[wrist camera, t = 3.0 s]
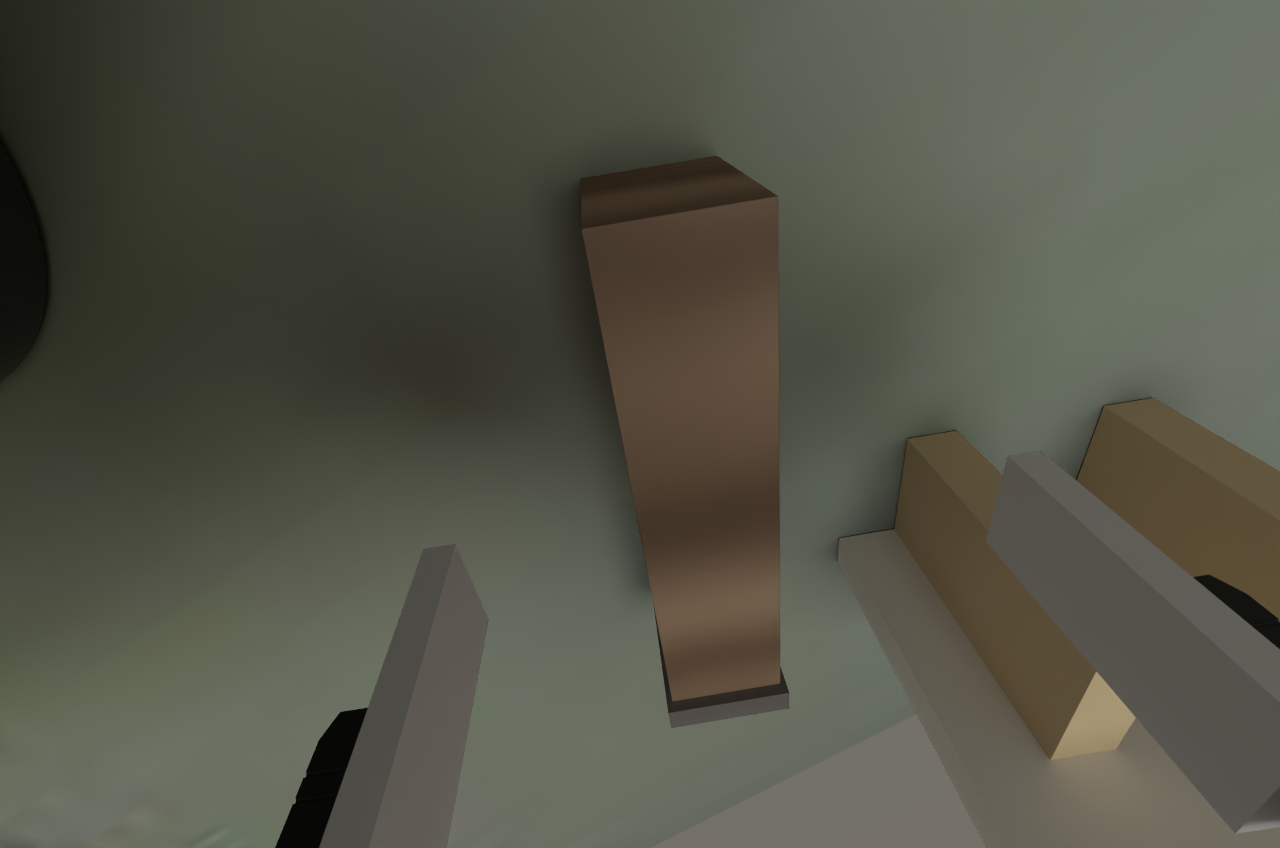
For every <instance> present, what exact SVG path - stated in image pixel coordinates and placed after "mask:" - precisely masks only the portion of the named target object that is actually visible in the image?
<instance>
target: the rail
mask: <svg viewBox="0 0 1280 848" xmlns="http://www.w3.org/2000/svg"><path fill="white" fill-rule="evenodd" d="M581 215H582V234H583V239H584V244H585V249H586V254H587V260H588V265H589V270H590V275H591V281H592V286H593V291H594V296H595V301H596V307H597V312H598V317H599V322H600V327H601V333H602V338H603V343H604V348H605V353H606V359H607V364H608V369H609V374H610V379H611V385H612V390H613V395H614V400H615V405H616V411H617V416H618V421H619V426H620V431H621V437H622V442H623V447H624V452H625V457H626V463H627V468H628V473H629V478H630V483H631V489H632V494H633V499H634V504H635V509H636V515H637V520H638V525H639V530H640V535H641V541H642V546H643V551H644V556H645V561H646V567H647V572H648V577H649V582H650V588H651V593H652V598H653V603H654V611H655V618H656V625H657V633H658V640H659V647H660V655H661V662H662V669H663V677H664V684H665V691H666V699H667V706H668V713H669V718H670V723H671V728H674V727H680V726H686V725H692V724H698V723H704V722H710V721H716V720H722V719H728V718H734V717H740V716H746V715H752V714H758V713H764V712H770V711H776V710H782V709H788V708H789V691H788V688H787V685H786V682H785V679H784V676H783V673H782V670H781V667H780V518H779V313H778V196H777V195H775V194H774V193H772V192H771V191H769V190H768V189H766V188H765V187H763V186H762V185H760V184H759V183H757V182H756V181H754V180H753V179H751V178H750V177H748V176H747V175H745V174H743V173H742V172H740V171H739V170H737V169H736V168H734V167H733V166H731V165H730V164H728V163H727V162H725V161H724V160H722V159H721V158H719V157H718V156H713V157H707V158H701V159H695V160H689V161H684V162H678V163H672V164H666V165H660V166H654V167H648V168H642V169H636V170H630V171H624V172H618V173H612V174H606V175H600V176H594V177H588V178H582V179H581Z"/></svg>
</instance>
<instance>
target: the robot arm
mask: <svg viewBox="0 0 1280 848" xmlns="http://www.w3.org/2000/svg"><path fill="white" fill-rule="evenodd" d="M45 299H46V272H45V260H44V255H43V249H42V244H41V239H40V236H39V232H38V228H37V224H36V221H35V218H34V215H33V212H32V209H31V207H30V204H29V201H28V198H27V196H26V194H25V191H24V189H23V187H22V184H21V182H20V180H19V177H18V175H17V174H16V172H15V170H14V168H13V166H12V164H11V162H10V160H9V158H8V156H7V154H6V152H5V150H4V149H3V147H2V145H1V143H0V382H1V381H2V380H3V379H4V378H5V377H7V376H8V375H9V374H10V373H11V372H12V371H13V370H14V369H15V368H16V367H17V366H18V365H19V364H20V363H21V361H22V360H23V359H24V357H25V356H26V355H27V353H28V352H29V350H30V348H31V346H32V344H33V343H34V341H35V339H36V336H37V333H38V331H39V328H40V326H41V321H42V317H43V313H44V307H45ZM986 542H987V543H988V545H989V546H990V547H991V548H992V549H993V550H994V552H995V553H996V554H997V555H998V556H999V557H1000V559H1001V560H1002V561H1003V562H1004V563H1005V565H1006V566H1007V567H1008V568H1009V569H1010V570H1011V572H1012V573H1013V574H1014V575H1015V576H1016V577H1017V579H1018V580H1019V581H1020V582H1021V583H1022V584H1023V586H1024V587H1025V588H1026V589H1027V590H1028V592H1029V593H1030V594H1031V595H1032V596H1033V597H1034V599H1035V600H1036V601H1037V602H1038V603H1039V604H1040V606H1041V607H1042V608H1043V609H1044V610H1045V611H1046V613H1047V614H1048V615H1049V616H1050V617H1051V619H1052V620H1053V621H1054V622H1055V623H1056V624H1057V626H1058V627H1059V628H1060V629H1061V630H1062V631H1063V633H1064V634H1065V635H1066V636H1067V637H1068V638H1069V640H1070V641H1071V642H1072V643H1073V644H1074V646H1075V647H1076V648H1077V649H1078V650H1079V651H1080V653H1081V654H1082V655H1083V656H1084V657H1085V658H1086V660H1087V661H1088V662H1089V663H1090V664H1091V665H1092V667H1093V668H1094V669H1095V670H1096V671H1097V673H1098V674H1099V675H1100V676H1101V677H1102V678H1103V680H1104V681H1105V682H1106V683H1107V684H1108V685H1109V687H1110V688H1111V689H1112V690H1113V691H1114V692H1115V694H1116V695H1117V696H1118V697H1119V698H1120V700H1121V701H1122V702H1123V703H1124V704H1125V705H1126V707H1127V708H1128V709H1129V710H1130V711H1131V712H1132V714H1133V715H1134V716H1135V717H1136V718H1137V719H1138V721H1139V722H1140V723H1141V724H1142V725H1143V727H1144V728H1145V729H1146V730H1147V731H1148V732H1149V734H1150V735H1151V736H1152V737H1153V738H1154V739H1155V741H1156V742H1157V743H1158V744H1159V745H1160V746H1161V748H1162V749H1163V750H1164V751H1165V752H1166V754H1167V755H1168V756H1169V757H1170V758H1171V759H1172V761H1173V762H1174V763H1175V764H1176V765H1177V766H1178V768H1179V769H1180V770H1181V771H1182V772H1183V773H1184V775H1185V776H1186V777H1187V778H1188V779H1189V781H1190V782H1191V783H1192V784H1193V785H1194V786H1195V788H1196V789H1197V790H1198V791H1199V792H1200V793H1201V795H1202V796H1203V797H1204V798H1205V799H1206V800H1207V802H1208V803H1209V804H1210V805H1211V806H1212V808H1213V809H1214V810H1215V811H1216V812H1217V813H1218V815H1219V816H1220V817H1221V818H1222V819H1223V820H1224V822H1225V823H1226V824H1227V825H1228V826H1229V827H1230V829H1231V830H1232V831H1233V832H1234V833H1235V834H1237V833H1244V832H1250V831H1257V830H1263V829H1270V828H1277V827H1280V622H1279V619H1278V618H1277V617H1276V616H1275V615H1273V614H1272V613H1271V612H1269V611H1268V610H1267V609H1266V608H1264V607H1263V606H1262V605H1261V604H1259V603H1258V602H1257V601H1256V600H1254V599H1253V598H1252V597H1250V596H1249V595H1248V594H1246V593H1244V592H1242V591H1240V590H1239V589H1237V588H1235V587H1233V586H1231V585H1229V584H1227V583H1225V582H1223V581H1221V580H1219V579H1217V578H1215V577H1213V576H1211V575H1210V574H1209V575H1203V576H1196V577H1192V576H1191V575H1189V574H1188V573H1187V572H1186V571H1185V570H1183V569H1182V568H1181V567H1180V566H1179V565H1177V564H1176V563H1175V562H1174V561H1173V560H1171V559H1170V558H1169V557H1168V556H1167V555H1165V554H1164V553H1163V552H1162V551H1161V550H1159V549H1158V548H1157V547H1156V546H1155V545H1153V544H1152V543H1151V542H1150V541H1149V540H1147V539H1146V538H1145V537H1144V536H1143V535H1141V534H1140V533H1139V532H1138V531H1137V530H1135V529H1134V528H1133V527H1132V526H1130V525H1129V524H1128V523H1127V522H1126V521H1124V520H1123V519H1122V518H1121V517H1120V516H1118V515H1117V514H1116V513H1115V512H1114V511H1112V510H1111V509H1110V508H1109V507H1108V506H1106V505H1105V504H1104V503H1103V502H1102V501H1100V500H1099V499H1098V498H1097V497H1096V496H1094V495H1093V494H1092V493H1091V492H1090V491H1088V490H1087V489H1086V488H1085V487H1084V486H1082V485H1081V484H1080V483H1079V482H1078V481H1076V480H1075V479H1074V478H1073V477H1072V476H1070V475H1069V474H1068V473H1067V472H1065V471H1064V470H1063V469H1062V468H1061V467H1059V466H1058V465H1057V464H1056V463H1055V462H1053V461H1052V460H1051V459H1050V458H1049V457H1047V456H1046V455H1045V454H1044V453H1043V452H1041V451H1037V452H1030V453H1024V454H1018V455H1012V456H1008V458H1007V462H1006V466H1005V470H1004V474H1003V478H1002V481H1001V485H1000V489H999V493H998V497H997V501H996V504H995V508H994V512H993V516H992V520H991V524H990V528H989V531H988V535H987V539H986ZM487 625H488V618H487V615H486V613H485V611H484V609H483V606H482V604H481V602H480V599H479V597H478V595H477V592H476V590H475V588H474V586H473V583H472V581H471V579H470V576H469V574H468V572H467V569H466V567H465V565H464V563H463V560H462V558H461V556H460V553H459V551H458V549H457V546H456V544H453V545H447V546H440V547H434V548H428V549H423V552H422V555H421V558H420V561H419V564H418V566H417V569H416V572H415V575H414V578H413V581H412V584H411V586H410V589H409V592H408V595H407V598H406V601H405V604H404V606H403V609H402V612H401V615H400V618H399V621H398V624H397V626H396V629H395V632H394V635H393V638H392V641H391V644H390V646H389V649H388V652H387V655H386V658H385V661H384V664H383V666H382V669H381V672H380V675H379V678H378V681H377V684H376V686H375V689H374V692H373V695H372V698H371V701H370V704H369V706H368V708H363V709H357V710H351V711H344V712H340V713H339V714H338V716H337V717H336V718H335V720H334V721H333V722H332V724H331V725H330V726H329V728H328V729H327V730H326V732H325V733H324V734H323V736H322V737H321V738H320V740H319V741H318V744H317V746H316V749H315V751H314V754H313V756H312V759H311V761H310V764H309V766H308V768H307V771H306V773H307V775H306V778H303V781H302V783H301V786H300V788H299V791H298V793H297V795H296V803H295V804H293V805H292V808H291V810H290V813H289V815H288V818H287V820H286V823H285V825H284V827H283V830H282V832H281V835H280V837H279V840H278V842H277V845H276V847H275V848H446V847H447V842H448V836H449V831H450V826H451V820H452V815H453V809H454V804H455V799H456V793H457V788H458V782H459V777H460V771H461V766H462V761H463V755H464V750H465V744H466V739H467V734H468V728H469V723H470V717H471V712H472V707H473V701H474V696H475V690H476V685H477V680H478V674H479V669H480V663H481V658H482V653H483V647H484V642H485V636H486V631H487Z"/></svg>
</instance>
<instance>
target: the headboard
mask: <svg viewBox="0 0 1280 848" xmlns="http://www.w3.org/2000/svg"><path fill="white" fill-rule="evenodd" d="M1002 478H1003V475H1002V474H1001V473H1000V472H999V471H998V470H997V469H996V468H995V467H994V466H993V465H992V464H991V463H990V462H989V461H988V460H986V459H985V458H984V457H983V456H982V455H981V454H980V453H979V452H978V451H977V450H976V449H975V448H974V447H973V446H972V445H971V444H970V443H969V442H968V441H967V440H966V439H965V438H964V437H963V436H962V435H961V434H960V433H959V432H958V431H951V432H945V433H939V434H933V435H927V436H921V437H915V438H909V439H907V446H906V453H905V459H904V466H903V473H902V480H901V486H900V493H899V500H898V506H897V513H896V520H895V526H894V529H892V530H886V531H880V532H874V533H868V534H862V535H856V536H850V537H844V538H839V548H838V563H839V565H840V567H841V569H842V571H843V573H844V575H845V577H846V579H847V581H848V583H849V585H850V587H851V588H852V590H853V592H854V594H855V596H856V598H857V600H858V602H859V604H860V606H861V608H862V610H863V612H864V614H865V615H866V617H867V619H868V621H869V623H870V625H871V627H872V629H873V631H874V633H875V635H876V637H877V639H878V641H879V642H880V644H881V646H882V648H883V650H884V652H885V654H886V656H887V658H888V660H889V662H890V664H891V666H892V668H893V669H894V671H895V673H896V675H897V677H898V679H899V681H900V683H901V685H902V687H903V689H904V691H905V693H906V695H907V696H908V698H909V700H910V702H911V704H912V706H913V708H914V710H915V712H916V714H917V716H918V717H919V720H920V721H921V723H922V725H923V727H924V729H925V731H926V733H927V735H928V737H929V739H930V741H931V743H932V745H933V747H934V749H935V750H936V752H937V754H938V756H939V758H940V760H941V762H942V764H943V766H944V768H945V770H946V772H947V774H948V776H949V777H950V779H951V781H952V783H953V785H954V787H955V789H956V791H957V793H958V795H959V797H960V799H961V801H962V803H963V804H964V806H965V808H966V810H967V812H968V814H969V816H970V818H971V820H972V822H973V824H974V825H975V827H976V829H977V831H978V833H979V835H980V837H981V839H982V841H983V843H984V844H985V847H986V848H1280V827H1277V828H1270V829H1263V830H1257V831H1250V832H1244V833H1237V834H1235V833H1234V832H1233V831H1232V830H1231V829H1230V827H1229V826H1228V825H1227V824H1226V823H1225V822H1224V820H1223V819H1222V818H1221V817H1220V816H1219V815H1218V813H1217V812H1216V811H1215V810H1214V809H1213V808H1212V806H1211V805H1210V804H1209V803H1208V802H1207V800H1206V799H1205V798H1204V797H1203V796H1202V795H1201V793H1200V792H1199V791H1198V790H1197V789H1196V788H1195V786H1194V785H1193V784H1192V783H1191V782H1190V781H1189V779H1188V778H1187V777H1186V776H1185V775H1184V773H1183V772H1182V771H1181V770H1180V769H1179V768H1178V766H1177V765H1176V764H1175V763H1174V762H1173V761H1172V759H1171V758H1170V757H1169V756H1168V755H1167V754H1166V752H1165V751H1164V750H1163V749H1162V748H1161V746H1160V745H1159V744H1158V743H1157V742H1156V741H1155V739H1154V738H1153V737H1152V736H1151V735H1150V734H1149V732H1148V731H1147V730H1146V729H1145V728H1144V727H1143V725H1142V724H1141V723H1140V722H1139V721H1138V719H1137V718H1136V717H1135V716H1134V715H1133V714H1132V712H1131V711H1130V710H1129V709H1128V708H1127V707H1126V705H1125V704H1124V703H1123V702H1122V701H1121V700H1120V698H1119V697H1118V696H1117V695H1116V694H1115V692H1114V691H1113V690H1112V689H1111V688H1110V687H1109V685H1108V684H1107V683H1106V682H1105V681H1104V680H1103V678H1102V677H1101V676H1100V675H1099V674H1098V673H1097V671H1096V670H1095V669H1094V668H1093V667H1092V665H1091V664H1090V663H1089V662H1088V661H1087V660H1086V658H1085V657H1084V656H1083V655H1082V654H1081V653H1080V651H1079V650H1078V649H1077V648H1076V647H1075V646H1074V644H1073V643H1072V642H1071V641H1070V640H1069V638H1068V637H1067V636H1066V635H1065V634H1064V633H1063V631H1062V630H1061V629H1060V628H1059V627H1058V626H1057V624H1056V623H1055V622H1054V621H1053V620H1052V619H1051V617H1050V616H1049V615H1048V614H1047V613H1046V611H1045V610H1044V609H1043V608H1042V607H1041V606H1040V604H1039V603H1038V602H1037V601H1036V600H1035V599H1034V597H1033V596H1032V595H1031V594H1030V593H1029V592H1028V590H1027V589H1026V588H1025V587H1024V586H1023V584H1022V583H1021V582H1020V581H1019V580H1018V579H1017V577H1016V576H1015V575H1014V574H1013V573H1012V572H1011V570H1010V569H1009V568H1008V567H1007V566H1006V565H1005V563H1004V562H1003V561H1002V560H1001V559H1000V557H999V556H998V555H997V554H996V553H995V552H994V550H993V549H992V548H991V547H990V546H989V545H988V543H987V542H986V539H987V535H988V531H989V528H990V524H991V520H992V516H993V512H994V508H995V504H996V501H997V497H998V493H999V489H1000V485H1001V481H1002ZM1077 481H1078V482H1079V483H1080V484H1081V485H1082V486H1084V487H1085V488H1086V489H1087V490H1088V491H1090V492H1091V493H1092V494H1093V495H1094V496H1096V497H1097V498H1098V499H1099V500H1100V501H1102V502H1103V503H1104V504H1105V505H1106V506H1108V507H1109V508H1110V509H1111V510H1112V511H1114V512H1115V513H1116V514H1117V515H1118V516H1120V517H1121V518H1122V519H1123V520H1124V521H1126V522H1127V523H1128V524H1129V525H1130V526H1132V527H1133V528H1134V529H1135V530H1137V531H1138V532H1139V533H1140V534H1141V535H1143V536H1144V537H1145V538H1146V539H1147V540H1149V541H1150V542H1151V543H1152V544H1153V545H1155V546H1156V547H1157V548H1158V549H1159V550H1161V551H1162V552H1163V553H1164V554H1165V555H1167V556H1168V557H1169V558H1170V559H1171V560H1173V561H1174V562H1175V563H1176V564H1177V565H1179V566H1180V567H1181V568H1182V569H1183V570H1185V571H1186V572H1187V573H1188V574H1189V575H1191V576H1192V577H1196V576H1203V575H1209V574H1210V575H1211V576H1213V577H1215V578H1217V579H1219V580H1221V581H1223V582H1225V583H1227V584H1229V585H1231V586H1233V587H1235V588H1237V589H1239V590H1240V591H1242V592H1244V593H1246V594H1248V595H1249V596H1250V597H1252V598H1253V599H1254V600H1256V601H1257V602H1258V603H1259V604H1261V605H1262V606H1263V607H1264V608H1266V609H1267V610H1268V611H1269V612H1271V613H1272V614H1273V615H1275V616H1276V617H1277V618H1278V619H1279V622H1280V471H1278V470H1277V469H1275V468H1273V467H1271V466H1270V465H1268V464H1266V463H1265V462H1263V461H1261V460H1259V459H1258V458H1256V457H1254V456H1253V455H1251V454H1249V453H1247V452H1246V451H1244V450H1242V449H1240V448H1239V447H1237V446H1235V445H1234V444H1232V443H1230V442H1228V441H1227V440H1225V439H1223V438H1222V437H1220V436H1218V435H1216V434H1215V433H1213V432H1211V431H1209V430H1208V429H1206V428H1204V427H1203V426H1201V425H1199V424H1197V423H1196V422H1194V421H1192V420H1191V419H1189V418H1187V417H1185V416H1184V415H1182V414H1180V413H1178V412H1177V411H1175V410H1173V409H1172V408H1170V407H1168V406H1166V405H1165V404H1163V403H1161V402H1160V401H1158V400H1156V399H1154V398H1149V399H1143V400H1137V401H1131V402H1125V403H1119V404H1113V405H1107V406H1104V408H1103V410H1102V413H1101V416H1100V419H1099V421H1098V424H1097V427H1096V429H1095V432H1094V435H1093V437H1092V440H1091V443H1090V446H1089V448H1088V451H1087V454H1086V456H1085V459H1084V462H1083V465H1082V467H1081V470H1080V473H1079V475H1078V478H1077Z"/></svg>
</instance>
